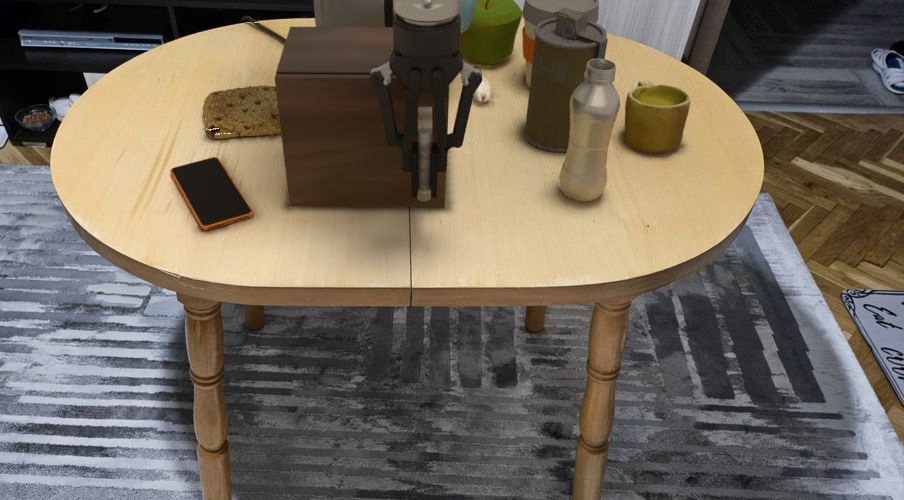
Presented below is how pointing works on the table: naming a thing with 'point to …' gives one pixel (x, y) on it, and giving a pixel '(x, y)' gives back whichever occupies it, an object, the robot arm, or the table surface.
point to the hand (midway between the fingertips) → (424, 191)
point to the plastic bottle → (590, 132)
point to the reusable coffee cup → (540, 8)
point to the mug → (655, 117)
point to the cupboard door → (352, 143)
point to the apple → (491, 32)
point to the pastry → (242, 112)
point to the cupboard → (335, 50)
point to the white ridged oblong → (483, 91)
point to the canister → (559, 74)
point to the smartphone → (211, 193)
